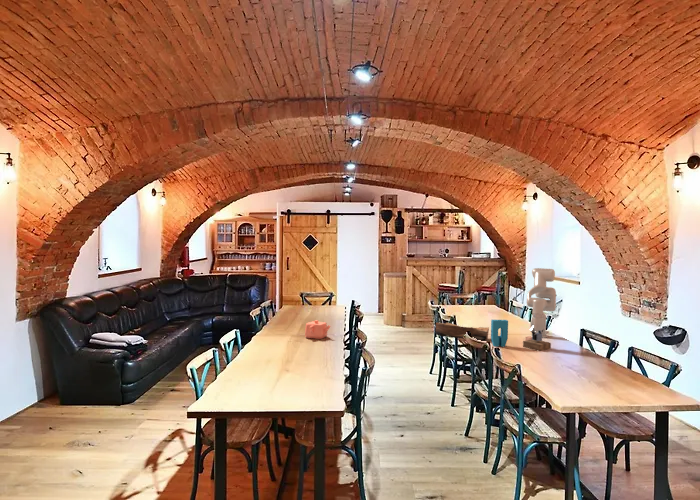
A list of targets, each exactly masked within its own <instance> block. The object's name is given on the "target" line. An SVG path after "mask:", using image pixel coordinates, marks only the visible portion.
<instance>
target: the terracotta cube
mask: <svg viewBox="0 0 700 500" xmlns="http://www.w3.org/2000/svg"><path fill="white" fill-rule="evenodd" d="M527 340H532V335H531V336H530V335H529V336H525V340H524V341H527Z"/></svg>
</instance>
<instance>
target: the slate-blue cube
mask: <svg viewBox="0 0 700 500" xmlns="http://www.w3.org/2000/svg"><path fill="white" fill-rule="evenodd" d="M536 335H537V338H536V340H535V341H543V338H542V334H540V333H536ZM531 337H532V340H533V334H532V333H531Z"/></svg>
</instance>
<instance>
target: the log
mask: <svg viewBox="0 0 700 500" xmlns="http://www.w3.org/2000/svg"><path fill="white" fill-rule="evenodd" d="M467 331H470V332H471V336H472V337H474V338H476V339H479V340H488V338H489V331H490V327H488V326H487V327H483V326H482V327H481V326H480V327H474V326H470V327H469V326H460V325H457V324H454V323H450V322H445V323H443V322H435V334H436V335H438V336H440V337H447V338H453V339H455V338H456V339H464V338H463V335H464V334H466V332H467ZM464 340H465V339H464ZM479 340H478V341H479Z"/></svg>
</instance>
